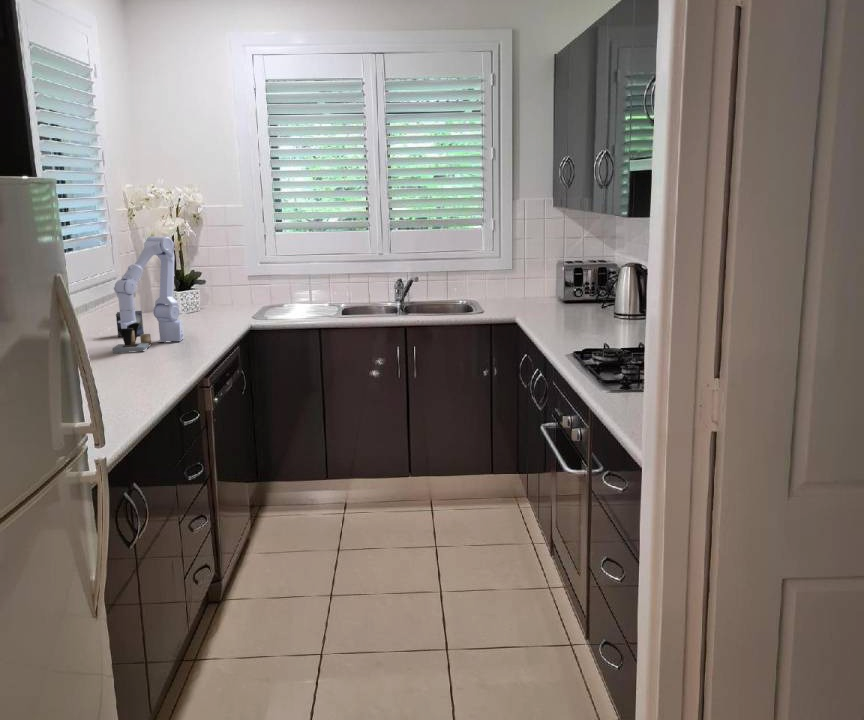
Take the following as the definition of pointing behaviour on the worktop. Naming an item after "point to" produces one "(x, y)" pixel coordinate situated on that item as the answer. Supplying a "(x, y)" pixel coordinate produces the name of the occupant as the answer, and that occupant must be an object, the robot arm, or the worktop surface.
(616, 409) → the worktop surface
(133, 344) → the long dowel
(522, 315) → the worktop surface
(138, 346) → the board
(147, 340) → the short dowel
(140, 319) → the small box
